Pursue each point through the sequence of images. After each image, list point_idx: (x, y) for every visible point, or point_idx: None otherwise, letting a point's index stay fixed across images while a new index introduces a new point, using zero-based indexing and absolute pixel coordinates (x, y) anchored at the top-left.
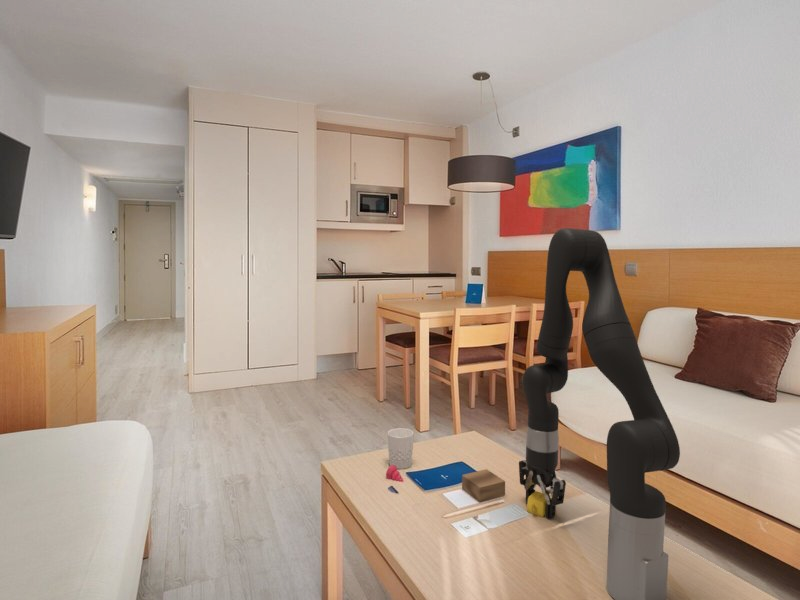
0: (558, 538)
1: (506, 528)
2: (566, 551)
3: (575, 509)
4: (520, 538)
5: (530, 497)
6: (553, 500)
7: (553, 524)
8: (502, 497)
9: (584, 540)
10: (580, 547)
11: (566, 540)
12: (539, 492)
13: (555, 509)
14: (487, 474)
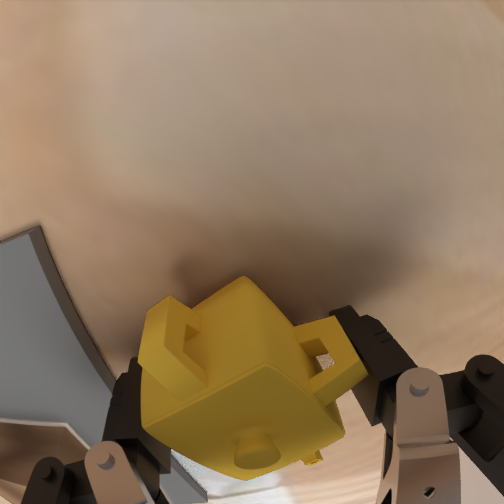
0: (441, 328)
1: (300, 459)
2: (484, 328)
3: (245, 41)
4: (368, 435)
5: (246, 474)
6: (466, 435)
7: (363, 308)
8: (81, 437)
9: (493, 231)
10: (500, 273)
11: (462, 304)
12: (174, 420)
13: (398, 345)
14: (6, 490)
